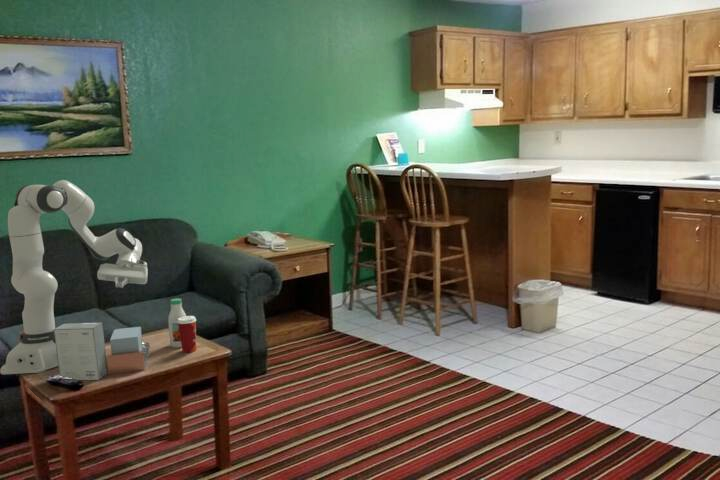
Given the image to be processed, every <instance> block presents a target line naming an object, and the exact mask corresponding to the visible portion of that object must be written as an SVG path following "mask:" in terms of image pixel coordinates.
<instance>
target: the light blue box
mask: <svg viewBox="0 0 720 480" xmlns="http://www.w3.org/2000/svg"><path fill="white" fill-rule="evenodd" d="M142 342H143V336H142V327H141V326H133V327H124V328H123V327H122V328H115V329H114V330H113V332H112V334H111V337H110V339H109V343H110V352H111V353H110V354H118V353H126V352H135V351H142V350H143V344H142Z"/></svg>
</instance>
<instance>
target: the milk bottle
mask: <svg viewBox="0 0 720 480" xmlns="http://www.w3.org/2000/svg"><path fill="white" fill-rule="evenodd" d="M183 316H187V314H186V313H185V310H184V309H183V301H182V298H177V297H176V298H171V299H170V311H169V314H168V320H167V322H168V332H169V345H170V347H171V348H182V346H181V339H180V333H179V326H178V323H177V321H178V318H180V317H183Z"/></svg>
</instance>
